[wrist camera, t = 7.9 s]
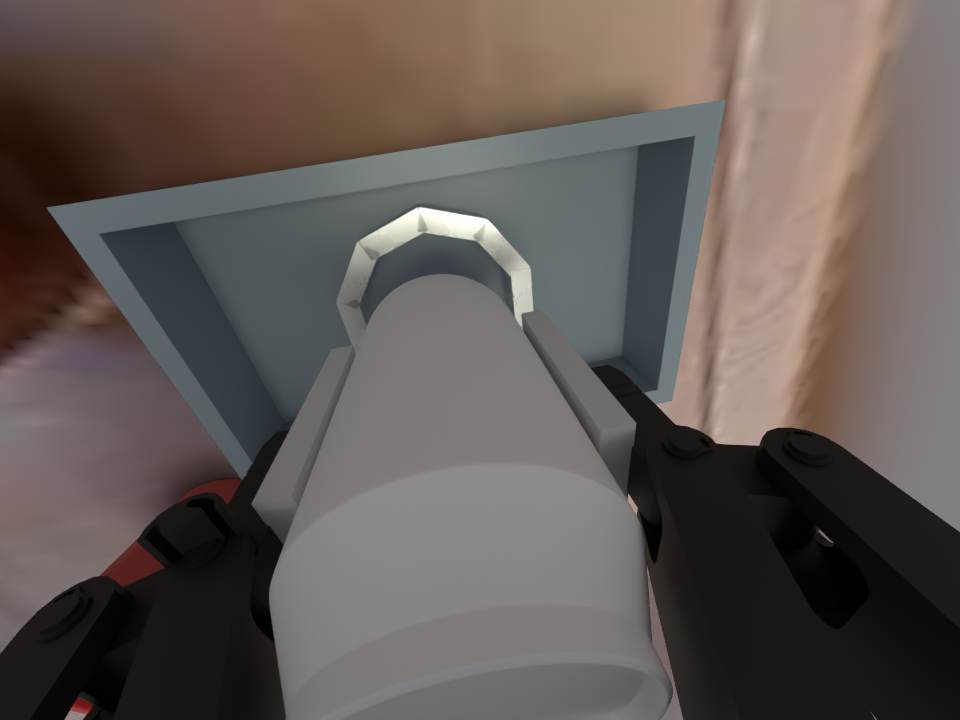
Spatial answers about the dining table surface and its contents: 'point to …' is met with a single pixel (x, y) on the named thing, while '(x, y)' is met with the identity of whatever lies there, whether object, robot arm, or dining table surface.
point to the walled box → (407, 256)
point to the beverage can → (461, 537)
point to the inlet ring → (407, 228)
